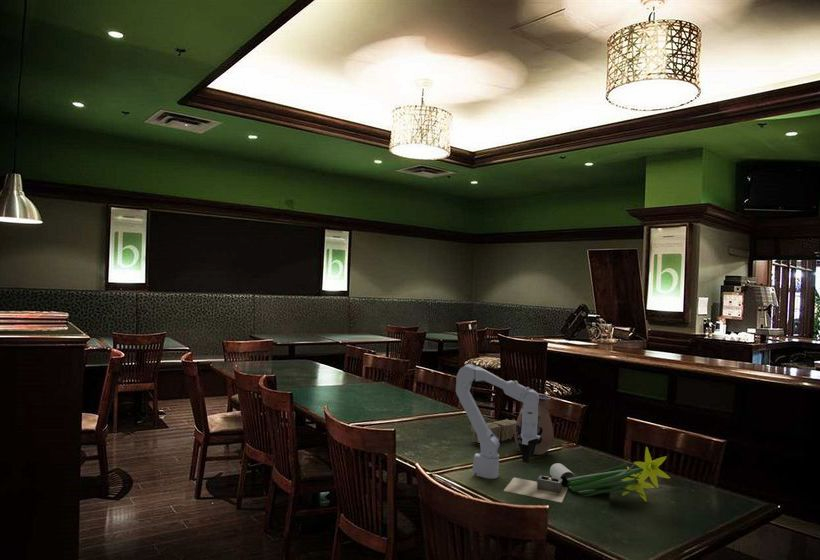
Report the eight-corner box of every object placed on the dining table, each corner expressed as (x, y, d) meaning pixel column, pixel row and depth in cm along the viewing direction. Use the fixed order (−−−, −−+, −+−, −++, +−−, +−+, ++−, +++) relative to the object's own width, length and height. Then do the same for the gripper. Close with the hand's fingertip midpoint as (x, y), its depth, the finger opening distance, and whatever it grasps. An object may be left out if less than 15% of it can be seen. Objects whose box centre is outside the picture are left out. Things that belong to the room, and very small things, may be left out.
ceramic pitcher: (508, 453, 246) (511, 396, 246) (521, 442, 264) (524, 390, 264) (547, 460, 237) (550, 402, 238) (558, 449, 256) (561, 395, 256)
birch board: (503, 494, 194) (503, 490, 195) (513, 481, 209) (513, 477, 209) (561, 507, 186) (561, 502, 186) (568, 492, 201) (568, 487, 201)
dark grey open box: (536, 488, 198) (537, 479, 198) (539, 484, 203) (540, 475, 203) (559, 493, 195) (560, 483, 195) (561, 488, 200) (562, 479, 200)
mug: (545, 474, 214) (555, 484, 202) (554, 459, 215) (565, 468, 203) (567, 487, 214) (578, 498, 202) (576, 472, 215) (588, 482, 203)
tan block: (507, 435, 280) (469, 442, 260) (509, 419, 280) (470, 424, 260) (520, 439, 274) (482, 446, 254) (521, 422, 274) (483, 427, 255)
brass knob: (546, 489, 199) (546, 478, 199) (547, 487, 200) (547, 477, 200) (551, 490, 198) (551, 479, 198) (552, 488, 199) (552, 478, 199)
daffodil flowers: (563, 487, 209) (655, 468, 208) (577, 521, 196) (675, 502, 195) (561, 457, 200) (657, 437, 199) (574, 491, 188) (677, 470, 186)
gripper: (536, 428, 198) (534, 466, 198) (544, 420, 212) (542, 456, 211) (517, 425, 201) (515, 463, 201) (525, 417, 214) (523, 453, 214)
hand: (527, 459), depth 206 cm, fingers open, 7 cm apart
